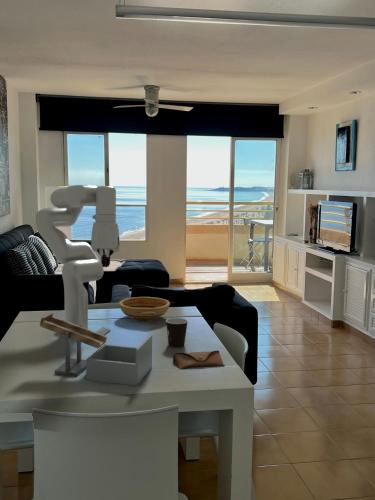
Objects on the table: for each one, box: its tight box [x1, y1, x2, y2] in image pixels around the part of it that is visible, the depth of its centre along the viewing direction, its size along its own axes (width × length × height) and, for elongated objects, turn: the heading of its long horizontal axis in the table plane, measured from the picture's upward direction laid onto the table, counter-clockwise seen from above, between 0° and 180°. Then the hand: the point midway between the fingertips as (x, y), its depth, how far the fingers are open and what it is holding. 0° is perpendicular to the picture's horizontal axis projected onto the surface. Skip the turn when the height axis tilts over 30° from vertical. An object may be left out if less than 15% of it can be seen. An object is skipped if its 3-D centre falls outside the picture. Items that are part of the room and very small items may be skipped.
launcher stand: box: [54, 325, 86, 377], centre depth 166 cm, size 8×12×14 cm, turn 167°
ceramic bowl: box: [118, 296, 171, 323], centre depth 231 cm, size 30×24×8 cm
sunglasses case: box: [172, 350, 226, 370], centre depth 175 cm, size 18×7×7 cm, turn 105°
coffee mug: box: [165, 317, 188, 349], centre depth 195 cm, size 12×9×10 cm
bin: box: [85, 334, 153, 387], centre depth 163 cm, size 18×16×12 cm
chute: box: [39, 312, 111, 349], centre depth 170 cm, size 22×17×3 cm
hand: (105, 266), depth 186 cm, fingers closed
